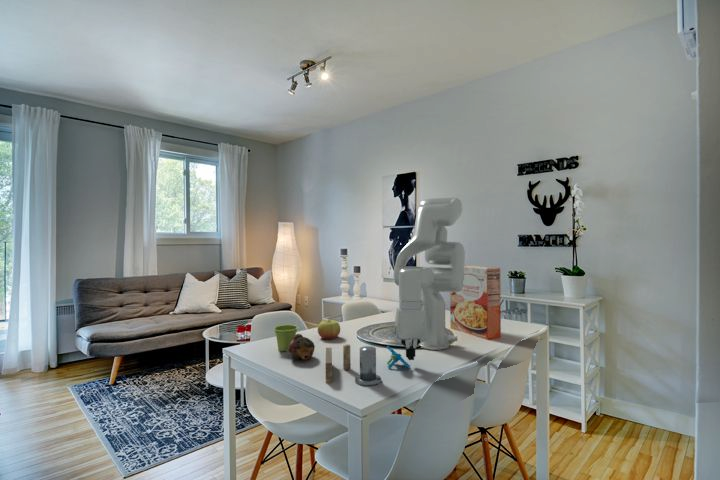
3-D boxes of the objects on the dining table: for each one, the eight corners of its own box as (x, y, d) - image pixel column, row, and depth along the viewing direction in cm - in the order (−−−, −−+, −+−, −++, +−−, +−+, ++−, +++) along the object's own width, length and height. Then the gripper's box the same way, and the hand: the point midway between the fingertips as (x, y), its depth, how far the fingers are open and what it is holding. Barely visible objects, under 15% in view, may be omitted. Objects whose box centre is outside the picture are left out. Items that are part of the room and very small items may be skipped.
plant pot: (303, 349, 151) (302, 327, 151) (283, 354, 145) (283, 331, 144) (288, 344, 158) (288, 323, 158) (269, 349, 151) (269, 327, 151)
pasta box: (450, 328, 182) (450, 265, 182) (463, 326, 186) (462, 264, 185) (487, 339, 162) (486, 269, 161) (500, 337, 165) (500, 268, 165)
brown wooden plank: (332, 364, 133) (331, 347, 133) (332, 382, 117) (332, 362, 117) (326, 364, 133) (326, 347, 132) (325, 382, 117) (325, 363, 116)
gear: (414, 367, 124) (392, 346, 124) (402, 381, 123) (380, 360, 123) (406, 361, 135) (386, 341, 135) (395, 374, 134) (375, 354, 134)
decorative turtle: (306, 350, 149) (307, 330, 149) (320, 365, 136) (322, 343, 135) (282, 353, 144) (283, 332, 144) (294, 368, 131) (295, 345, 131)
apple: (336, 334, 174) (336, 316, 174) (343, 339, 165) (343, 321, 165) (315, 336, 170) (315, 318, 170) (321, 342, 161) (320, 323, 161)
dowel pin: (350, 367, 129) (350, 344, 129) (350, 370, 127) (350, 346, 127) (343, 368, 129) (343, 344, 129) (343, 370, 127) (343, 346, 127)
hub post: (379, 375, 122) (378, 344, 122) (382, 385, 114) (382, 352, 114) (354, 376, 121) (353, 345, 121) (356, 386, 113) (355, 353, 113)
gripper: (428, 302, 134) (429, 354, 134) (386, 303, 133) (387, 356, 133) (434, 306, 126) (435, 361, 127) (390, 307, 125) (390, 363, 125)
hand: (410, 358), depth 130 cm, fingers closed
